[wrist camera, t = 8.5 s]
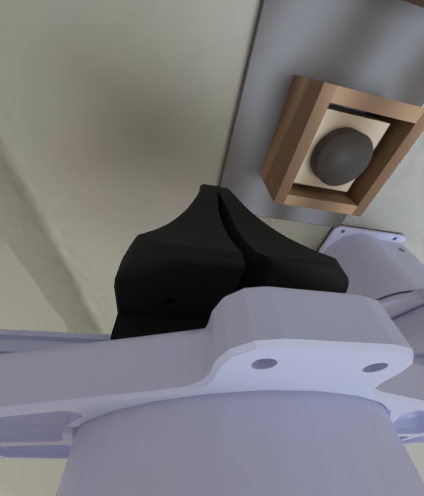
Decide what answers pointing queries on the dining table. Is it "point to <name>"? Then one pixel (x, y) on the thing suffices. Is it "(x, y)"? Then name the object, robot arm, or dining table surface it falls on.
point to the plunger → (340, 149)
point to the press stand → (324, 100)
